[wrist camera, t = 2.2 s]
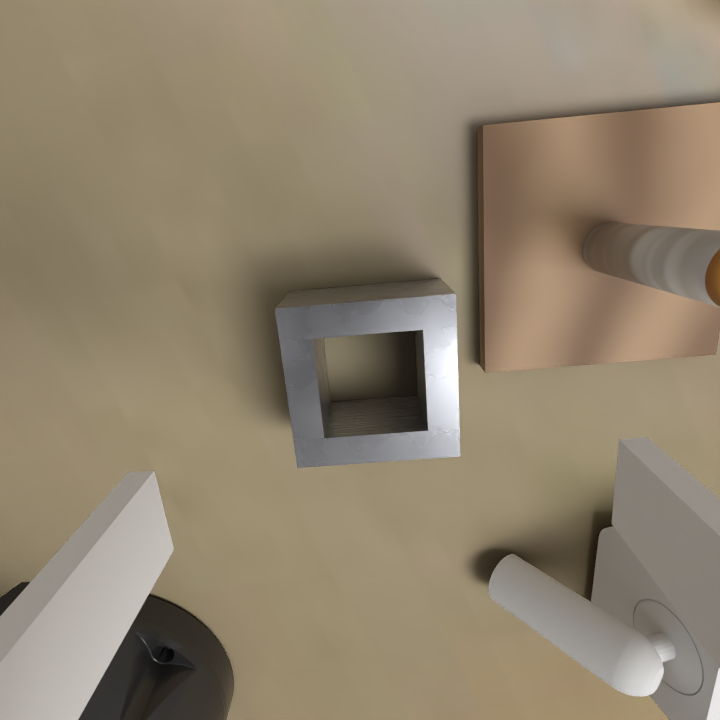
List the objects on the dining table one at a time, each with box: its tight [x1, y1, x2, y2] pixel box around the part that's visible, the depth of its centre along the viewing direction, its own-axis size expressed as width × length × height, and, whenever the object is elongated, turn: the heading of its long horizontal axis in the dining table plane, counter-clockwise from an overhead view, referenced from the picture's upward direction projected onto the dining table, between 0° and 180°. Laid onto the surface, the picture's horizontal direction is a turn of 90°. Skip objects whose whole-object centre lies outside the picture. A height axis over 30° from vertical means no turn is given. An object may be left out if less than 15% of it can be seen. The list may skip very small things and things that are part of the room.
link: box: [275, 279, 460, 468], centre depth 25 cm, size 8×8×4 cm
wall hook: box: [488, 526, 720, 720], centre depth 27 cm, size 8×10×10 cm
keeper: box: [477, 102, 720, 373], centre depth 20 cm, size 12×12×11 cm
